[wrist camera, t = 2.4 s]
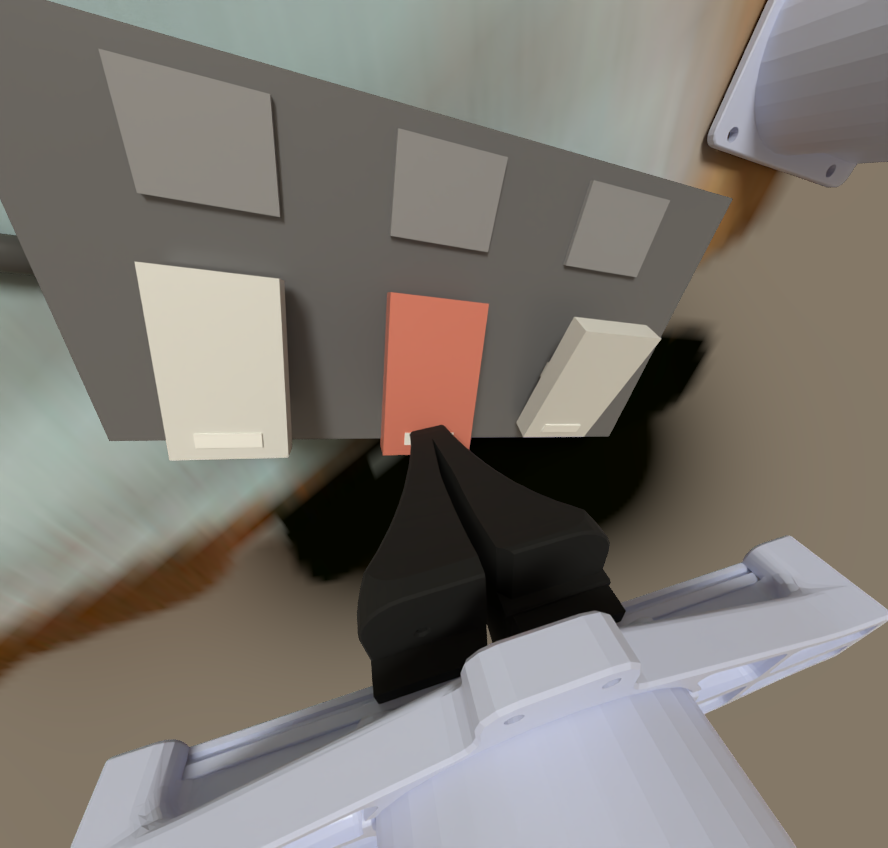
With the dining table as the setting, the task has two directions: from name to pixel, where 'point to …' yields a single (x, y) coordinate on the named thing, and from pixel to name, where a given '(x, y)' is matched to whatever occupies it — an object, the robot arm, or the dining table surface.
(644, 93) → the dining table surface
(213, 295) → the rocker
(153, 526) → the dining table surface
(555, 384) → the rocker
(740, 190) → the dining table surface
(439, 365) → the rocker middle
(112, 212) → the power strip
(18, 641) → the dining table surface
